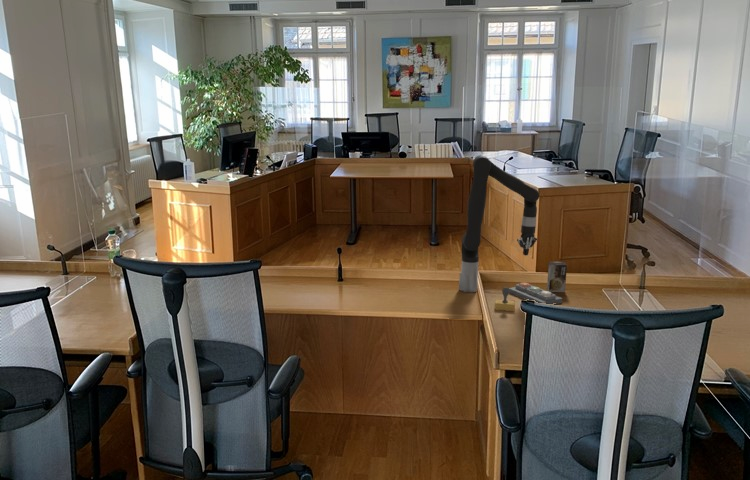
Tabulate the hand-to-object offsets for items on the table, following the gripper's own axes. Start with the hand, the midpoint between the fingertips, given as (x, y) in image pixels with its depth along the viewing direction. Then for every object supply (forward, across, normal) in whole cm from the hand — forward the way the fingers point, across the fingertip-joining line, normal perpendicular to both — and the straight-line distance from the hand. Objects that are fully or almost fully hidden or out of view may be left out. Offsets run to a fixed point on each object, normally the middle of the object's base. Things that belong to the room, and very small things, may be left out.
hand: (525, 255), depth 340 cm
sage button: (+19, 0, +10) cm, 21 cm away
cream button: (+18, 0, +18) cm, 26 cm away
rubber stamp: (+22, +26, +16) cm, 37 cm away
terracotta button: (+19, 0, +2) cm, 19 cm away
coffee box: (+21, -19, +7) cm, 29 cm away
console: (+21, 0, +10) cm, 24 cm away
